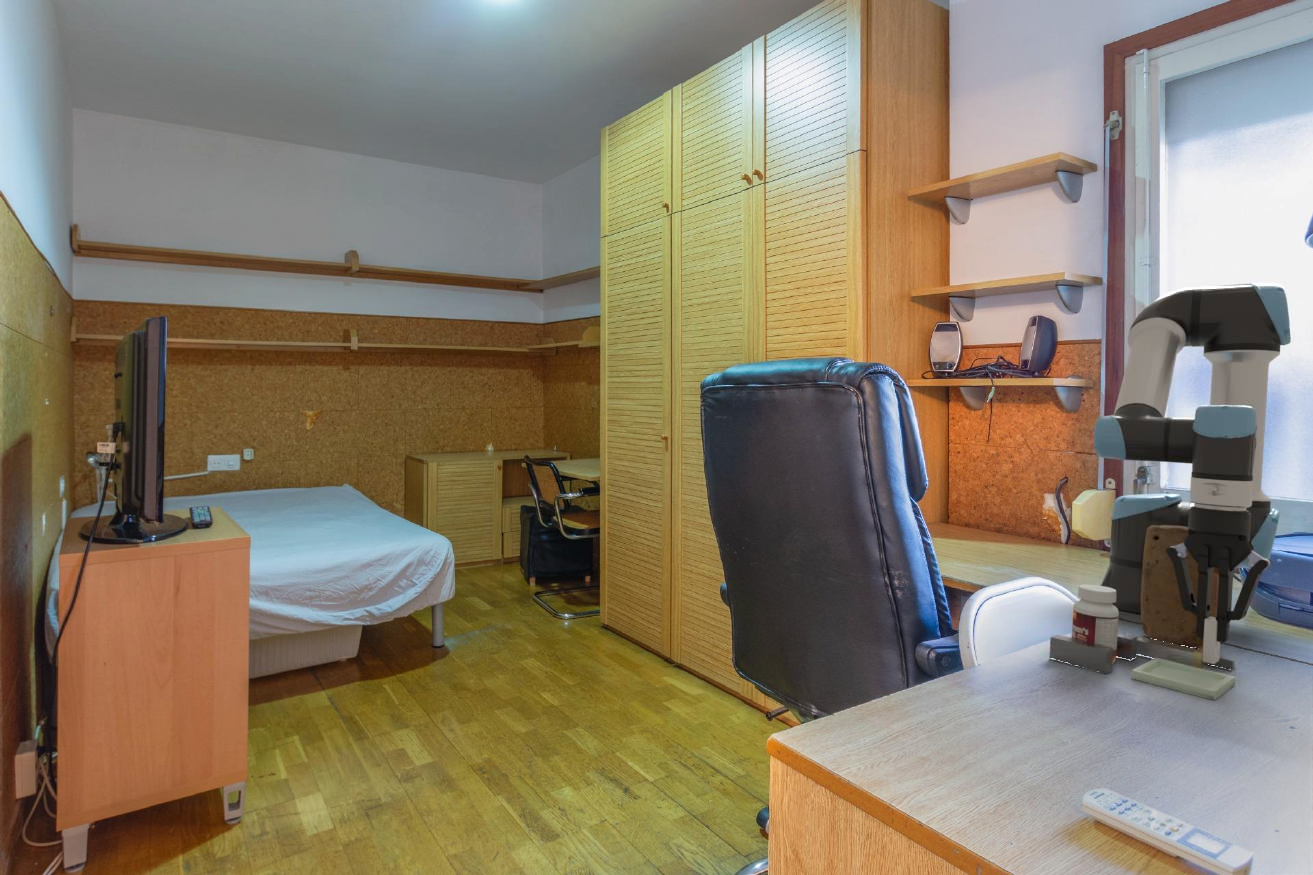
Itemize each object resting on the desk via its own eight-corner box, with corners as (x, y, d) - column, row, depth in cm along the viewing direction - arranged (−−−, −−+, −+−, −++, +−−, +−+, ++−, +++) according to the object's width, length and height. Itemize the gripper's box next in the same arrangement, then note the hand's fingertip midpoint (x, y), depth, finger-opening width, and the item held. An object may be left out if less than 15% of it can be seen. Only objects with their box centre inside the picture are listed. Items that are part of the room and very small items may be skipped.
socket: (1082, 645, 125) (1083, 624, 125) (1136, 658, 119) (1137, 636, 119) (1049, 659, 117) (1050, 637, 117) (1105, 674, 111) (1106, 650, 111)
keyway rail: (1125, 643, 126) (1125, 635, 126) (1234, 669, 115) (1234, 659, 115) (1122, 645, 126) (1123, 636, 126) (1232, 670, 114) (1232, 661, 114)
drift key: (1141, 651, 122) (1142, 634, 122) (1207, 667, 116) (1208, 649, 115) (1133, 655, 120) (1134, 638, 120) (1200, 671, 113) (1201, 653, 113)
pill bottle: (1062, 652, 121) (1065, 583, 120) (1098, 652, 121) (1101, 583, 121) (1087, 665, 114) (1091, 592, 114) (1125, 665, 115) (1129, 592, 115)
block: (1134, 638, 130) (1141, 523, 130) (1149, 630, 135) (1155, 520, 134) (1209, 654, 122) (1217, 533, 121) (1222, 646, 127) (1229, 529, 126)
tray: (1155, 665, 116) (1155, 657, 115) (1234, 684, 108) (1235, 676, 108) (1131, 678, 109) (1131, 670, 109) (1214, 700, 101) (1214, 691, 101)
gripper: (1161, 503, 116) (1153, 654, 116) (1268, 514, 106) (1258, 678, 107) (1177, 500, 120) (1168, 645, 121) (1280, 510, 110) (1270, 668, 111)
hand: (1210, 660), depth 114 cm, fingers closed
